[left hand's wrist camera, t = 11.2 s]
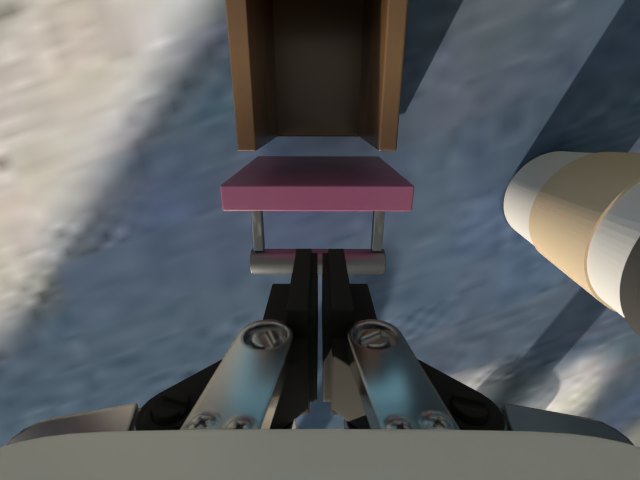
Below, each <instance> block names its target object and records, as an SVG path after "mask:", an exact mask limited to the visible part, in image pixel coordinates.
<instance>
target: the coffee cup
mask: <svg viewBox="0 0 640 480" xmlns="http://www.w3.org/2000/svg"><path fill="white" fill-rule="evenodd" d="M504 213H505V217H506V219H507V221H508V223H509V224H510V226H511V227H512V228H513V229H514V230H516V231H517V232H518V233H519V234H521V235H522V236H523V237H524V238H526V239H527V240H528V241H529V242H531V243H532V244H533V245H534V246H535V247H536V249H537V250H538V251H539V252H540V253H541V254H542V255H543V256H544V257H546V258H547V259H548V260H549V261H551V262H552V263H553V264H554V265H556V266H557V267H558V268H559V269H560V270H562V271H563V272H564V273H565V274H567V275H568V276H569V277H570V278H571V279H573V280H574V281H575V282H576V283H578V284H579V285H580V286H581V287H583V288H584V289H585V290H586V291H587V292H589V293H590V294H591V295H592V296H594V297H595V298H596V299H597V300H598V301H600V302H601V303H602V304H603V305H605V306H606V307H608V308H610V309H612V310H614V311H616V312H618V313H619V314H621V315H622V316H623V317H624V318H625V319H626V321H627V323H628V324H629V326H630V327H631V328H632V329H633V330H634V332H635V333H637V334H638V335H639V336H640V153H626V152H598V153H584V152H567V151H556V152H550V153H546V154H543V155H541V156H538V157H536V158H534V159H533V160H531V161H530V162H528V163H527V164H526V165H524V166H523V167H522V168H521V169H520V170H519V171H518V172H517V173H516V175H515V176H514V177H513V179H512V180H511V182H510V184H509V186H508V188H507V190H506V193H505V197H504Z"/></svg>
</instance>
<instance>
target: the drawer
mask: <svg viewBox="0 0 640 480" xmlns="http://www.w3.org/2000/svg"><path fill="white" fill-rule="evenodd" d="M225 1H226V13H227V25H228V37H229V49H230V61H231V73H232V85H233V97H234V109H235V121H236V133H237V145H238V151H256V150H257V149H259V148H260V147H262V146H263V145H265V144H266V143H268V142H270V141H271V140H273V139H274V138H276V137H277V136H359V137H361V138H362V139H364V140H365V141H367V142H368V143H369V144H371V145H372V146H374V147H375V148H376V149H378V150H379V151H395V150H396V149H397V136H398V124H399V111H400V98H401V86H402V73H403V61H404V48H405V36H406V23H407V11H408V0H225ZM220 189H221V199H222V208H223V211H251V218H252V232H253V245H254V249H252V250H251V254H250V270H251V273H252V274H292V272H293V266H294V260H295V254H296V249H264V248H265V242H264V226H263V211H373V222H372V238H371V249H344V254H345V260H346V266H347V272H348V274H384V273H385V268H386V257H385V251H384V249H382V241H383V227H384V214H385V211H411V210H412V204H413V194H414V186H413V185H412V184H411V183H410V182H409V181H407V180H406V179H405V178H404V177H403V176H401V175H400V174H399V173H398V172H397V171H395V170H394V169H393V168H392V167H390V166H389V165H388V164H387V163H386V162H384V161H383V160H382V159H381V158H380V157H321V156H258V157H257V158H255V159H254V160H253V161H252V162H250V163H249V164H248V165H246V166H245V167H244V168H243V169H241V170H240V171H239V172H237V173H236V174H235V175H234V176H232V177H231V178H230V179H228V180H227V181H226V182H224V183H223V184H222V185H221V186H220ZM312 253H318V274H322V253H328V249H312Z"/></svg>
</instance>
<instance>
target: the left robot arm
mask: <svg viewBox="0 0 640 480" xmlns="http://www.w3.org/2000/svg"><path fill="white" fill-rule="evenodd" d="M317 350H318V253H312V249H296V254H295V260H294V266H293V272H292V278H291V284H273V285H272V288H271V292H270V296H269V300H268V303H267V307H266V311H265V314H264V318H263V320H259V321H255V322H253V323H250V324H248V325H247V326H245V327H244V328H243V329H242V330H241V331H240V332H239V333H238V335H237V337H236V338H235V340H234V342H233V343H232V345H231V346H230V348H229V350H228V351H227V353H226V355H225V356H224V358H223V359H222V360H220V361H218V362H216V363H215V364H213V365H211V366H209V367H207V368H205V369H203V370H202V371H200V372H198V373H196V374H194V375H192V376H190V377H189V378H187V379H185V380H183V381H181V382H179V383H178V384H176V385H174V386H172V387H170V388H168V389H166V390H165V391H163V392H161V393H159V394H157V395H156V396H154V397H153V398H151V399H150V400H149V401H148V402H147V403H146V404H145V405H144V406H143V407H142V408H138V405H137V403H134V404H128V405H122V406H117V407H111V408H105V409H100V410H94V411H89V412H83V413H77V414H72V415H66V416H60V417H55V418H50V419H47V420H43V421H40V422H37V423H35V424H33V425H31V426H29V427H27V428H25V429H24V430H22V431H21V432H20V433H18V434H17V435H16V436H14V437H13V438H12V439H11V440H10V441H9V442H8V443H7V444H6V446H3V447H0V480H640V447H637V446H634V444H633V443H632V442H631V441H630V440H629V439H628V438H627V437H626V436H624V435H623V434H622V433H620V432H619V431H618V430H616V429H615V428H613V427H611V426H609V425H607V424H605V423H603V422H600V421H597V420H593V419H590V418H585V417H580V416H574V415H568V414H563V413H557V412H551V411H546V410H540V409H535V408H529V407H523V406H518V405H512V404H506V403H503V405H502V408H498V407H497V406H496V405H495V404H494V403H493V402H492V401H491V400H490V399H489V398H487V397H486V396H484V395H483V394H481V393H479V392H477V391H475V390H474V389H472V388H470V387H468V386H466V385H464V384H462V383H461V382H459V381H457V380H455V379H453V378H451V377H450V376H448V375H446V374H444V373H442V372H440V371H438V370H437V369H435V368H433V367H431V366H429V365H427V364H425V363H424V362H422V361H420V360H418V359H417V358H416V356H415V355H414V353H413V351H412V350H411V348H410V346H409V345H408V343H407V342H406V340H405V338H404V337H403V335H402V333H401V332H400V331H399V330H398V329H397V328H396V327H395V326H393V325H392V324H390V323H387V322H385V321H381V320H377V318H376V314H375V311H374V307H373V303H372V300H371V296H370V292H369V288H368V285H367V284H349V278H348V272H347V266H346V260H345V254H344V249H328V253H322V351H323V402H330V409H331V414H339V415H341V416H342V417H343V418H344V429H296V418H297V417H298V416H299V415H301V414H309V409H310V402H317Z"/></svg>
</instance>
